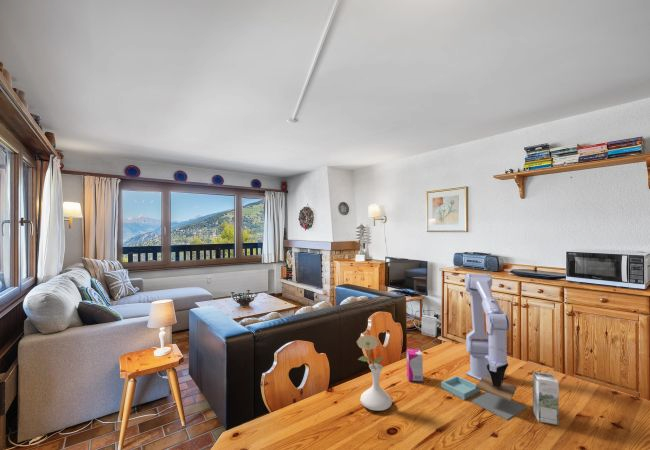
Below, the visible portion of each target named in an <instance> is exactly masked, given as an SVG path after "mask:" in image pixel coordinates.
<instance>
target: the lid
mask: <svg viewBox="0 0 650 450" xmlns="http://www.w3.org/2000/svg"><path fill="white" fill-rule="evenodd" d="M476 389H479V390H480V391H482V392H484V393H486V392H487V393H490V394H493V395H496V396H498V397H501V398H504V399H507V400H509V401H511V400H512V399H513V397H514V395H515V393H516V391H517V389H518V386H517V385H514V384H511V383H508V382H505V381H503V383H502V380H501V386H500V388H498V387H495V386H493V383H492V379H491V378H490V377H487V376H483V377H482V379H481V380H479V381H478V382H477V384H476Z"/></svg>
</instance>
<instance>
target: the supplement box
mask: <svg viewBox="0 0 650 450" xmlns="http://www.w3.org/2000/svg"><path fill="white" fill-rule="evenodd" d="M423 364H424V363H423V353H422V352H421V350H420V349H413V348H412V349H410V348H409V349H408V348H407V349H406V376H407V379H408V381H409V383H423V382H424V370H423V369H424V368H423V367H424V365H423Z"/></svg>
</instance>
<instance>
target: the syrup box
mask: <svg viewBox="0 0 650 450" xmlns="http://www.w3.org/2000/svg"><path fill="white" fill-rule="evenodd" d="M559 386H560V382H559V381H558V380H557V378H556V377H555V375H554V374H552V373H546V372H539V371H532V413H533V415H534V416H535V418H536V420H537V422H538V423H542V424H547V425H554V426H559V425H560V423H559V422H560V421H559V420H560V418H559V416H560V413H559V412H560V409H559V405H560V403H559V399H560V393H559V392H560V387H559Z"/></svg>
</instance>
